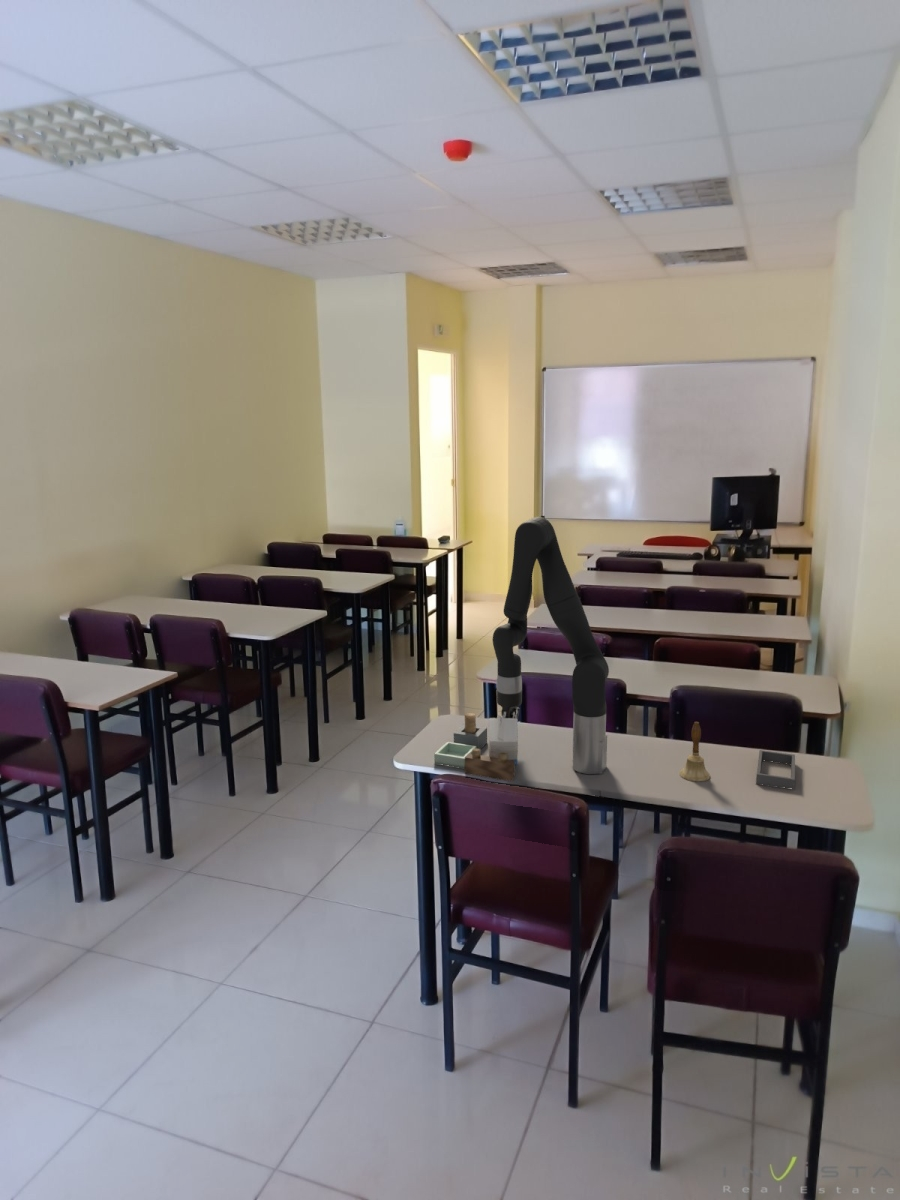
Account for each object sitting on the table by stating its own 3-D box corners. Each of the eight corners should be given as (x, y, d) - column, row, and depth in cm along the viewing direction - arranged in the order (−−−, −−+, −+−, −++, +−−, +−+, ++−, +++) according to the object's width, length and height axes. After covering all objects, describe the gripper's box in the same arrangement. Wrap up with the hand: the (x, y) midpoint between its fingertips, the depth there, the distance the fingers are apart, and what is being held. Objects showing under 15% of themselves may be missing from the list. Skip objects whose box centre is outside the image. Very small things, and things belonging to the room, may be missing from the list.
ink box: (517, 765, 234) (518, 738, 224) (488, 764, 234) (489, 738, 225) (516, 740, 240) (517, 713, 230) (488, 740, 240) (488, 713, 231)
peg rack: (514, 777, 226) (514, 754, 224) (511, 781, 223) (511, 758, 222) (468, 769, 231) (468, 746, 230) (464, 773, 229) (464, 750, 227)
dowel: (477, 744, 249) (477, 713, 247) (473, 748, 246) (473, 717, 244) (467, 742, 251) (467, 712, 248) (463, 746, 248) (462, 716, 245)
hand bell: (689, 783, 220) (692, 729, 217) (673, 771, 228) (676, 718, 225) (716, 779, 222) (719, 725, 219) (699, 767, 230) (702, 715, 227)
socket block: (487, 742, 251) (487, 727, 249) (478, 752, 243) (477, 736, 242) (463, 738, 254) (463, 724, 253) (453, 748, 246) (453, 733, 245)
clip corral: (794, 764, 231) (795, 754, 231) (793, 789, 215) (794, 779, 215) (758, 759, 235) (759, 749, 234) (755, 784, 219) (756, 774, 218)
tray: (476, 756, 240) (476, 746, 239) (464, 769, 232) (464, 758, 231) (447, 751, 244) (447, 741, 243) (434, 764, 235) (434, 753, 235)
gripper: (513, 697, 230) (513, 753, 234) (528, 683, 242) (527, 736, 246) (489, 694, 233) (489, 749, 237) (505, 680, 245) (505, 732, 249)
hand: (509, 742), depth 242 cm, fingers closed
